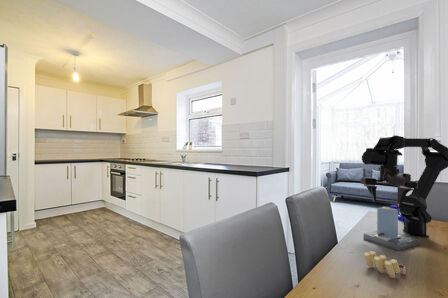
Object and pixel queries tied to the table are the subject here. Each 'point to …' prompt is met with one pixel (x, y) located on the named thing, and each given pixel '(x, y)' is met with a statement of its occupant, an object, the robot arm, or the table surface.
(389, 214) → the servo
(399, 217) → the cable clip
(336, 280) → the table surface
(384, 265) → the ammunition
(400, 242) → the plate
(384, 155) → the robot arm
